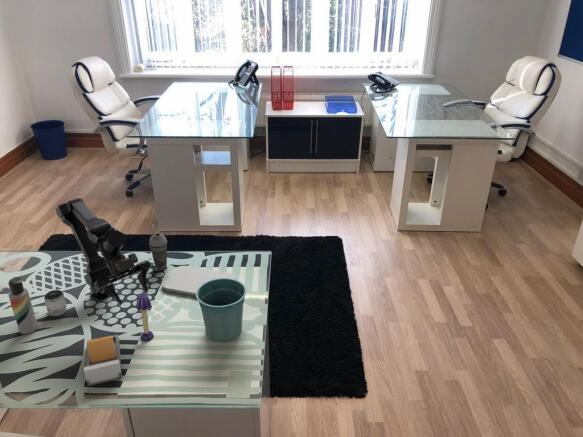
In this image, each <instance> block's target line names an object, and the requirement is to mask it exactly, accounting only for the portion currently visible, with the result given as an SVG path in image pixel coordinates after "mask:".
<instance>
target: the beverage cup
mask: <svg viewBox="0 0 583 437" xmlns="http://www.w3.org/2000/svg"><path fill="white" fill-rule="evenodd" d="M151 225H152V229H153V232H154V233H153V234H152V235H151V236H150V238H149V241H148V242H149V243H148V246H149V249H150V252H151V255H152V259H153V264H154V267H155V269H156V270H157V271H164V270H166V269H167V268H168V258H167V257H168V254H167V252H168V251H167V248H168V240H167V238H166V236H165V235H164V234H162V233H157V232H156V229H155V225H154V224H151Z"/></svg>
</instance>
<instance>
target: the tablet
mask: <svg viewBox="0 0 583 437" xmlns="http://www.w3.org/2000/svg"><path fill="white" fill-rule="evenodd" d="M217 278H231V279H235V280H237V276H236V275H235V274H234V273H231V272H227V271H226V272H224V271H219V270H214V269H213V270H212V269H208V268H200V267H195V266H189V265H180V266H177V267H176V268H175V269H174V270H172V272H171V273H170V274H169V275H168V277H166V278H165V280H164V281H163V282H162V288H163V289H164V290H165V291H166V292H170V293H171V292H172V293H178V294H182V295H188V296H193V297H196V291H197V289H198V288H199V287H200V286H201V285H202V284H204V283H205V282H207V281H210V280H213V279H217Z"/></svg>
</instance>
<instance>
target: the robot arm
mask: <svg viewBox="0 0 583 437" xmlns="http://www.w3.org/2000/svg"><path fill="white" fill-rule="evenodd" d="M55 211H56V215H57V217H58V218H59V219H60V220H61V222H62V223H63V224H64V225H66V226H68V227H70V229H71V232H72V234H73V235H74V237H75V240H76V242H77V245H78V247H79V248H80V250H81V252H82V254H83V256H84V258H85V260H86V268H85V270H86V275H84V280H85V283H86V284H87V285H88V286H89V287H90V288H91V292H92V293H90V295H89V298H92V299H94V300H95V299H96V300H100V301H105V300H107V298H109V297H110V298H112V299H113V300H114V301H116V302H117V304H119V305H123V301H122V300H121V299H122V298H121V297H120V296H119V294H118V292H117V291H116V289H115V287H114V284H113V283H115V282H118V281H120V280H122V279H125V278H127V277H130V276H132V275H134V274H136V275H137V276H136V277H137V280H138V282H139V283H140V285H141V288H142V290H143V291H144V292H145V294H147V293H148V292H149V290H148V283H147V274H148V272H149V270H150V269H151V268H152V266H153V265H152V264H151V262H150V261H149V260H147V259H145V260H143V261H141V262H139V259H138V256H137V255H136V253H135V252H132V253H129V254H128V255H127V256H128V257H126V256H125V255H124V254H123V253H122V251H121V249H123V247H124V245H125V244H126V242H127V241H126V240H127V238H126V235H125V234H124V233H123V232H122V231H120V230H118V229H117V228H116V227H115V226H113V225H112V224H110V222H108V221H107V220H105V218H99V217H97V216H96V215H95V214H94V213H93V212H92V210H91V209H90V208H89V207H88V206H87V205H86V204H85V203H84V200H83V198H80V197H78V198H73V199H69V200H68V201H66V202H63V203H60V204H58V205H57V207H56V208H55ZM95 244H99V246H98V250H97V248H96V246H95ZM99 252H100V254H101V255H100V254H99ZM135 264H136V265H135Z"/></svg>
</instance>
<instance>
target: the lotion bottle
mask: <svg viewBox="0 0 583 437" xmlns="http://www.w3.org/2000/svg"><path fill="white" fill-rule="evenodd" d="M7 284H8V288H9V290H10V292H9V293H8V299H9V302H10V306H11V309H12V312H13V315H14V319H15V321H16V324H17V328H18V330H19V333H20V334H22V335H28V334H33V333H34V332H35V331H36V330H38V325H39V324H38V320H37V318H36V313H35V311H34V307H33V304H32V300H31V296H30V294H29V290H28V289H27V288H26V287H24V285H23V280H22V279H21V277H14V278H10V279H9V280H8V283H7Z"/></svg>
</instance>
